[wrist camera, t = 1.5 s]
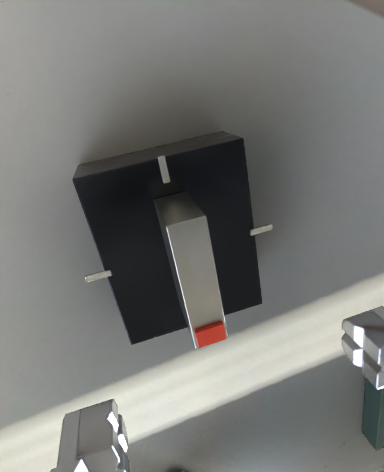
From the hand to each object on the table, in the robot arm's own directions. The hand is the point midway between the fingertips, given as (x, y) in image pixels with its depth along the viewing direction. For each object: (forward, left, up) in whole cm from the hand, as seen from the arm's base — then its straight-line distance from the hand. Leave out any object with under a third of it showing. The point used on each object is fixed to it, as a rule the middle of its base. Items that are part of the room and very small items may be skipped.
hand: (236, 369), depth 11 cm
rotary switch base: (0, 0, -13) cm, 13 cm away
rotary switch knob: (0, 0, -9) cm, 9 cm away
